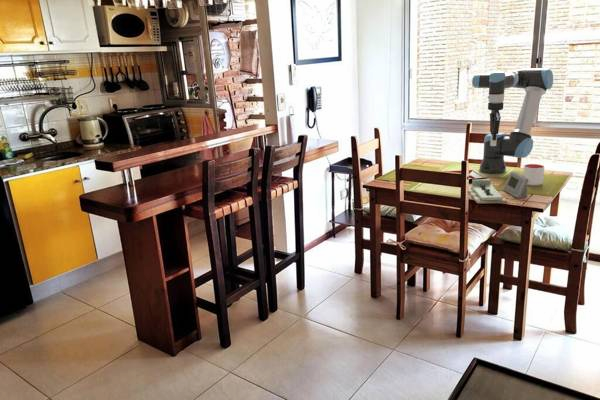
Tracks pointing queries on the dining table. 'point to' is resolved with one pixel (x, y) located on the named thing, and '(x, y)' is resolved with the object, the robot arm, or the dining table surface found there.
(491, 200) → the board
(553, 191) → the dining table surface
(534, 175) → the cup
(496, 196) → the panel
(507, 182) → the digital clock
